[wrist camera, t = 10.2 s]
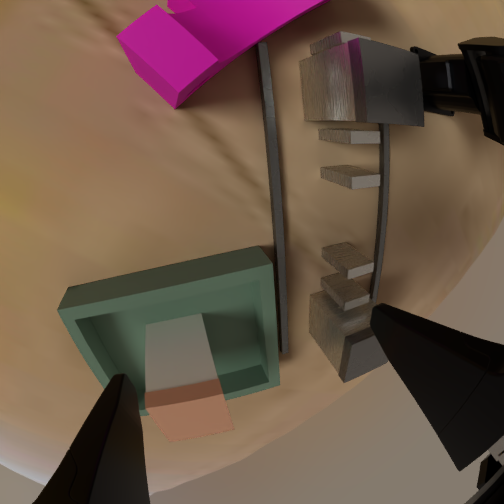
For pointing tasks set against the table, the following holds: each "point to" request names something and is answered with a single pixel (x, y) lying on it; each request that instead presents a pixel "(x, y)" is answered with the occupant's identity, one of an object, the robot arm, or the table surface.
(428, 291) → the table surface
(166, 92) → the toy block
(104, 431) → the robot arm
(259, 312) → the tray
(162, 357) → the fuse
